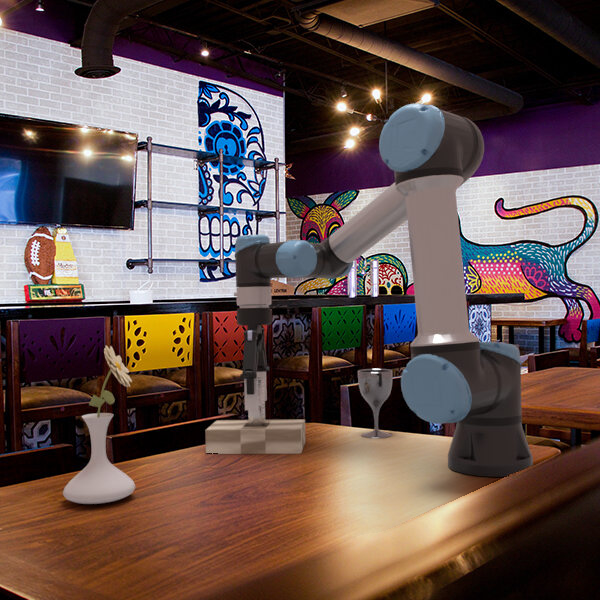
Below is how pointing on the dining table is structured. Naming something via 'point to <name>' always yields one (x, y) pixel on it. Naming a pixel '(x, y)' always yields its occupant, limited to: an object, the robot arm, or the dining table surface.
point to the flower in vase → (101, 450)
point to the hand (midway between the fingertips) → (256, 405)
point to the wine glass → (375, 394)
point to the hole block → (255, 437)
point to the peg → (258, 415)
